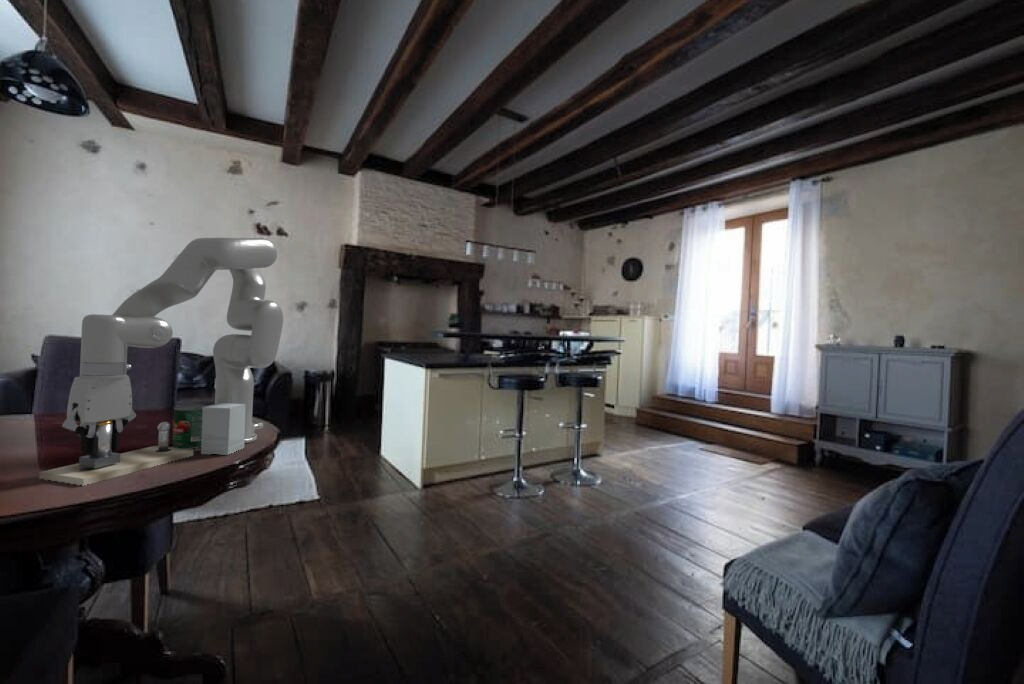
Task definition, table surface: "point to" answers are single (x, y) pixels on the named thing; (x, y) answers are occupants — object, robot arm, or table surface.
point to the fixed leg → (163, 436)
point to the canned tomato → (187, 426)
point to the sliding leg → (101, 448)
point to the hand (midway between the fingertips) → (100, 451)
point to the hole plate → (116, 466)
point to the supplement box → (223, 428)
